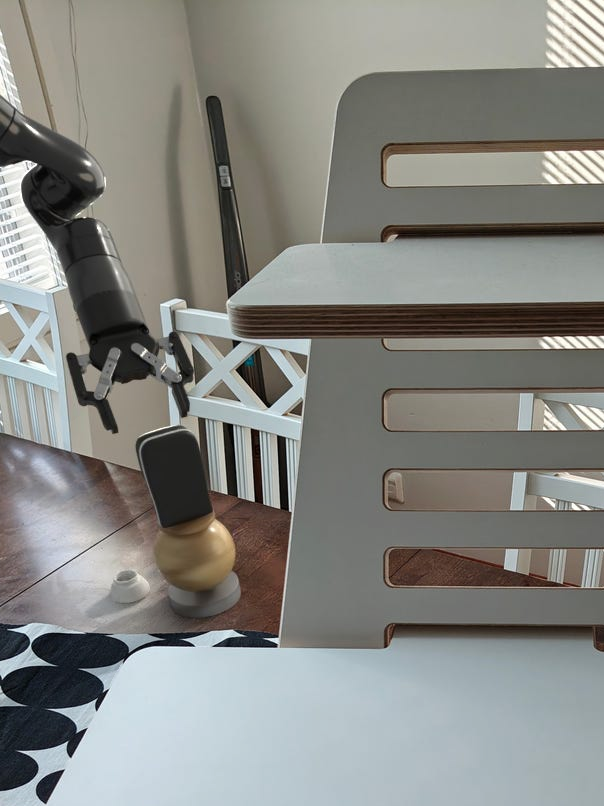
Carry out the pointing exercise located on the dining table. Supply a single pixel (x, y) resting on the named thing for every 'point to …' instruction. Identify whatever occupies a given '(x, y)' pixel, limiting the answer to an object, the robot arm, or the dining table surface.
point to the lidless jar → (128, 587)
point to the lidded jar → (198, 566)
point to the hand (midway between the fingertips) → (150, 423)
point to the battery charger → (174, 474)
